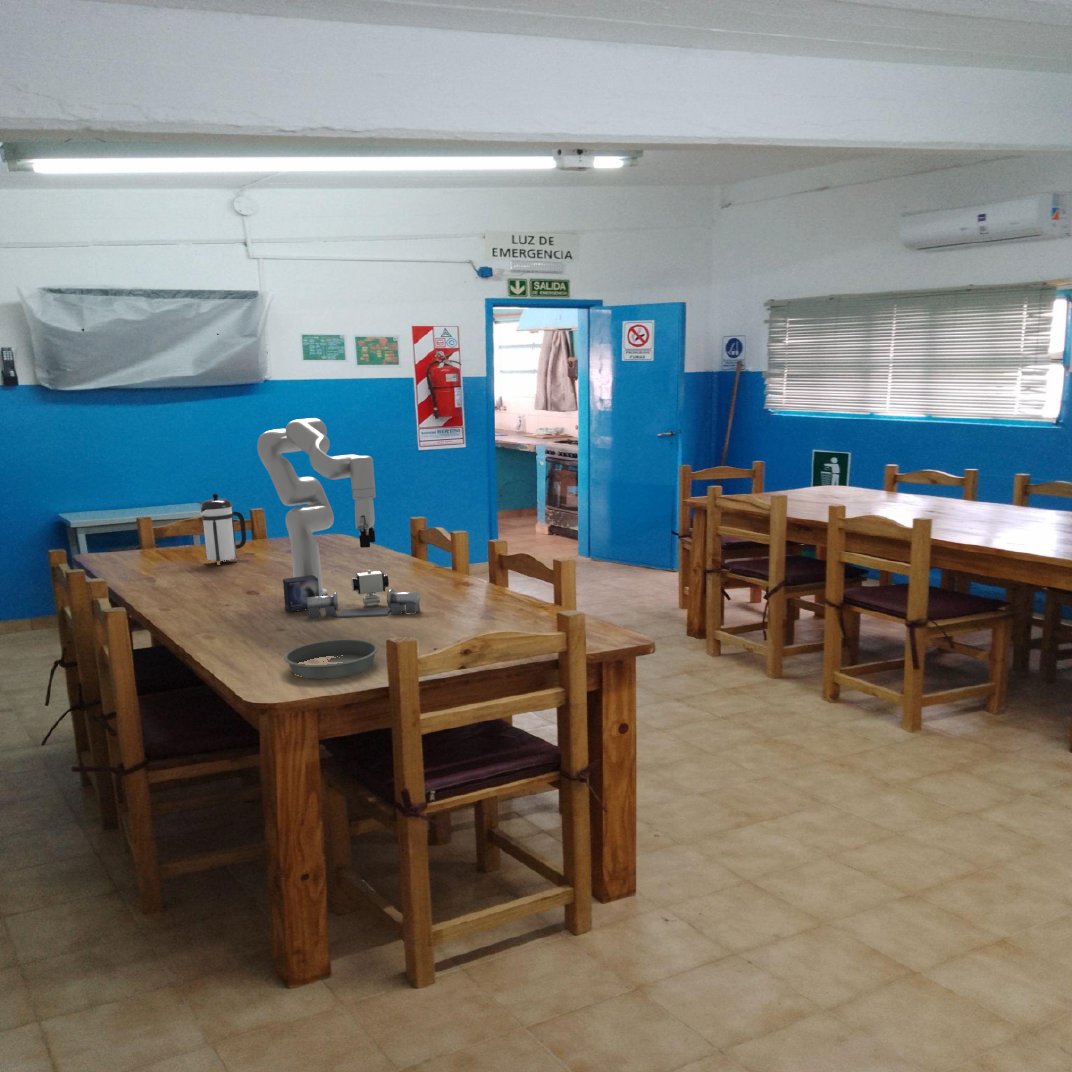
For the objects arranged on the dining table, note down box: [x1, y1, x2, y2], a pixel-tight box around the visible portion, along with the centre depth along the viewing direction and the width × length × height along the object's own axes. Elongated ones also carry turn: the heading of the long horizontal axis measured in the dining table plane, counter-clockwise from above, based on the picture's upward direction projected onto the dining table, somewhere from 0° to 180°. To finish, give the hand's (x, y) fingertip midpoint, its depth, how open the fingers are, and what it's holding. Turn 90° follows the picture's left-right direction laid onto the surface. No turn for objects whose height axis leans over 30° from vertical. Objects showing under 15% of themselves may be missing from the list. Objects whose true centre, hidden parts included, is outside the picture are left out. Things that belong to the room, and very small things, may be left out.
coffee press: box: [199, 492, 247, 562], centre depth 439 cm, size 17×16×30 cm
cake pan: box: [283, 639, 379, 680], centre depth 273 cm, size 25×25×4 cm
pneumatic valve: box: [350, 569, 390, 608], centre depth 344 cm, size 6×12×12 cm, turn 109°
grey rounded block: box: [386, 588, 421, 615], centre depth 331 cm, size 9×6×8 cm, turn 78°
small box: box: [282, 575, 319, 613], centre depth 344 cm, size 11×6×10 cm, turn 117°
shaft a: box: [307, 591, 339, 619], centre depth 332 cm, size 9×6×8 cm, turn 98°
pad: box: [336, 606, 391, 619], centre depth 333 cm, size 16×9×1 cm, turn 88°
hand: (367, 544), depth 342 cm, fingers open, 9 cm apart
